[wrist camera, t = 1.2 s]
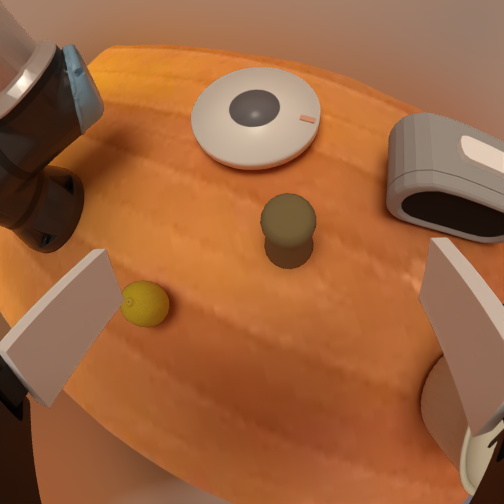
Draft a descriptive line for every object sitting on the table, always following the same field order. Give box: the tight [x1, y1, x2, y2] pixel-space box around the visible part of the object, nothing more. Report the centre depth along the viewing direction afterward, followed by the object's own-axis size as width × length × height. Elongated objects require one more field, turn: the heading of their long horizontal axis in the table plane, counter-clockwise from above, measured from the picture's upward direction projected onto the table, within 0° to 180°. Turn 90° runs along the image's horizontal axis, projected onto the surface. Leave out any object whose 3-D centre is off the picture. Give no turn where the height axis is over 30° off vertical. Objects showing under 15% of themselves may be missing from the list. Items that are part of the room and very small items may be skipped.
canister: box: [421, 355, 504, 496], centre depth 19 cm, size 18×18×21 cm
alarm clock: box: [386, 112, 504, 244], centre depth 28 cm, size 21×10×13 cm, turn 77°
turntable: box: [191, 67, 320, 170], centre depth 37 cm, size 18×18×2 cm
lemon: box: [120, 280, 169, 327], centre depth 33 cm, size 6×6×8 cm
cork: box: [260, 193, 316, 269], centre depth 31 cm, size 6×6×11 cm
